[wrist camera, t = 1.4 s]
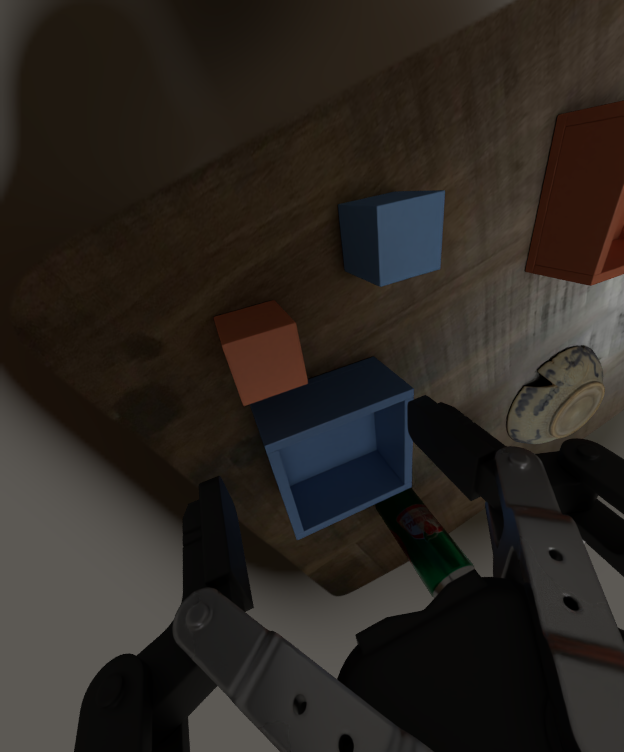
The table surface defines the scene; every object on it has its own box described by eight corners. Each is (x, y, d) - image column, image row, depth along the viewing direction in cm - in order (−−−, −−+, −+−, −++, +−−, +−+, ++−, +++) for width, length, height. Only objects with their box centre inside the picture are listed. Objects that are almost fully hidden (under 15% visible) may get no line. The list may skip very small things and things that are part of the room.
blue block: (337, 204, 21) (376, 206, 17) (394, 191, 22) (445, 189, 17) (344, 271, 23) (380, 287, 19) (395, 257, 24) (440, 269, 20)
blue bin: (248, 400, 25) (264, 446, 21) (373, 356, 28) (414, 388, 23) (279, 489, 32) (297, 540, 27) (379, 447, 34) (411, 487, 29)
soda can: (411, 475, 39) (489, 568, 29) (404, 502, 41) (474, 596, 32) (375, 486, 37) (446, 588, 28) (371, 513, 40) (434, 616, 30)
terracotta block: (212, 316, 21) (221, 345, 17) (274, 299, 22) (296, 322, 18) (232, 370, 24) (243, 406, 19) (286, 352, 24) (308, 383, 20)
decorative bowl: (548, 441, 48) (613, 354, 42) (573, 457, 45) (646, 366, 39) (486, 439, 42) (552, 336, 36) (509, 459, 39) (586, 349, 33)
